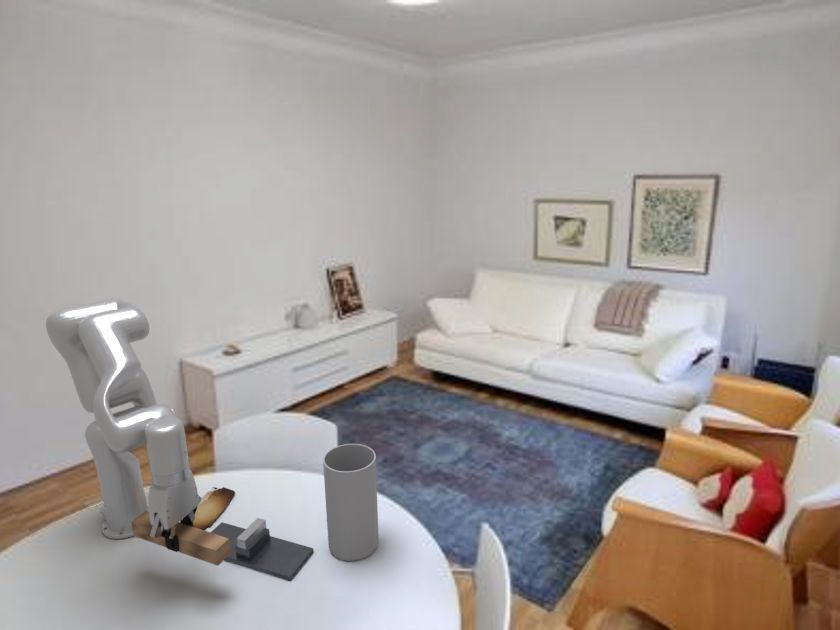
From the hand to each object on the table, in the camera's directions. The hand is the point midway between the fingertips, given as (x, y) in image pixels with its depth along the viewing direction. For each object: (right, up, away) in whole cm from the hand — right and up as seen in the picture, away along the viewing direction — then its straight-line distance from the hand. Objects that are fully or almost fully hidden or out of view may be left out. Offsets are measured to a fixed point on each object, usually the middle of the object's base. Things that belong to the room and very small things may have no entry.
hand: (180, 541), depth 122 cm
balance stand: (+13, -7, +12) cm, 19 cm away
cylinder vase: (+37, -7, +14) cm, 41 cm away
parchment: (-5, -4, +26) cm, 27 cm away
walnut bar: (0, -1, 0) cm, 1 cm away
